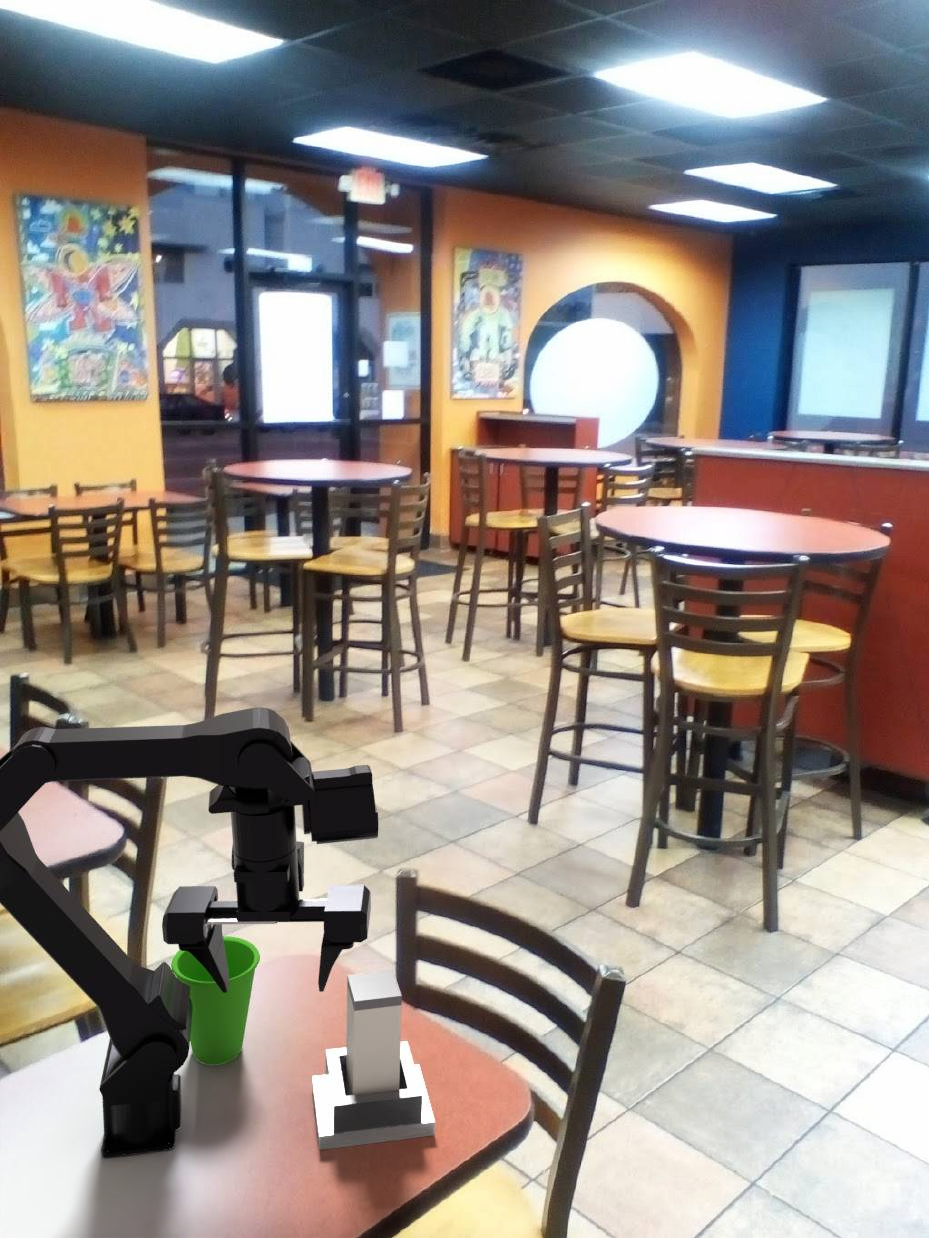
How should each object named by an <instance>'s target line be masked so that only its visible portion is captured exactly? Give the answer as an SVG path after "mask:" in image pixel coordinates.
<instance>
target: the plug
mask: <svg viewBox="0 0 929 1238" xmlns="http://www.w3.org/2000/svg"><path fill="white" fill-rule="evenodd" d="M346 977H347V978H346V979H347V980H346V984H347V985H346V1037H345V1038H346V1039H345V1040H346V1041H345V1043H346V1045H345V1046H346V1090H347V1094H348V1096H349V1095H357V1094H366V1093H375V1092H383V1091H392V1090H399V1078H400V1043H401V1042H402V1041H401V1037H402V1036H401V1035H402V1004H403V1003H402V1001H403V999H402V998H403V995H402V992H401V990H400V987H399V984H398V981H397V980H398V979H397V978H396V975H395V972H394V970H393V969H386V970H378V971H369V972H359V973H351V974H347V976H346Z"/></svg>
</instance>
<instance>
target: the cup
mask: <svg viewBox="0 0 929 1238" xmlns="http://www.w3.org/2000/svg"><path fill="white" fill-rule="evenodd" d="M223 941H224V947H225V953H226V958H227V964H228V970H229V989H228V992H227V993H223V992H222V991H221V989H220V988H219V986H218V985H217V984H216V982H215V981H214V980H213V978H212V977H211V976H210V974H209V973H208V972H207V970H206V969H205V968H204V967H203V966H202V965H201V963H200V962H199V961H198V960H197V959H196V958H195V957H194V956H193V955H192V954H191V953H190V952H188V951H181V950H180V949H179V950H177V952H176V953H175V954H174V956H173V957H172V960H171V963H170V968H171V969H172V971H173V973H174V974H175V976H176V977H177V978H178V979H179V980H180V981H181V982H182V983H185V984H187V985H189V986H190V999H191V1001H192V1005H193V1007H192V1008H193V1012H192V1023H191V1035H190V1047H191V1052H192V1055H193V1057H194V1058H195V1059H196V1061H198V1062H199V1063H201V1064H203V1065H208V1066H219V1065H223V1064H227V1063H229V1062H233V1060H234V1059H236V1058H237V1057H238V1056H239V1054H240V1052H241V1050H242V1049H243V1045H244V1039H245V1034H246V1033H245V1032H246V1026H247V1020H248V1014H249V1009H250V1001H251V998H252V997H251V996H252V989H253V986H254V985H253V983H254V977H255V970H256V968H257V967H258V965H259V963H260V960H261V959H260V958H261V955H260V952H259V949H258V948H257V947H256V946H255V945H254V944H253V943H251V941H248V940H247V939H243V938H240V937H235V936H227V935H226V936H225V935H224V936H223Z"/></svg>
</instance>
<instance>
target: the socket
mask: <svg viewBox="0 0 929 1238" xmlns="http://www.w3.org/2000/svg"><path fill="white" fill-rule="evenodd" d="M410 1048H411V1047H410V1044H409V1042H408V1040H402V1041H401V1043H400V1078H399V1090H392V1091H383V1092H375V1093H366V1094H357V1095H349V1096H348V1094H347V1090H346V1047H337V1048H327V1049H325V1074H322V1075H321V1074H320V1075H312V1096H313V1105H314V1113H315V1122H316V1131H317V1138H318V1146H319V1147H318V1149H319V1150H320V1151H322V1150H323V1151H324V1150H329V1149H330V1150H331V1149H336V1148H337V1149H338V1148H347V1147H355V1146H362V1145H368V1144H377V1143H386V1142H392V1141H393V1142H394V1141H401V1140H407V1139H410V1140H411V1139H417V1138H423V1137H424V1138H425V1137H432V1136H435V1133H436V1132H435V1130H436V1119H435V1117H434V1113H433V1110H432V1106H431V1103H430V1099H429V1095H428V1091H427V1088H426V1084H425V1081H424V1077H423V1074H422V1071H421V1066H420V1064H415V1062H414V1060H413V1055H412V1051H411V1049H410Z"/></svg>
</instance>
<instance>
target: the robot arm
mask: <svg viewBox="0 0 929 1238" xmlns="http://www.w3.org/2000/svg"><path fill="white" fill-rule="evenodd" d="M311 764H312V763H311V761H310V760H309V759H308V758H307V757H306V755H304V753H303V752H302V751H301V750H300V749H299V748H298V747H297V746H296V745H295V744H294V742H293V741H292V740H291V734H290V728H289V725H287V722H286V720H285V719H284V718H283V717H282V716H280V714H278V713H277V712H276V711H275V710H273V709H272V708H271V709H270V708H268V707H260V706H258V707H256V706H255V707H249V708H246V709H241V710H235V711H230V712H225V713H220V714H217V715H215V716H212V717H209V718H206V719H204V720H202V721H201V720H200V721H197V722H192V723H188V724H187V723H186V724H179V725H178V724H177V725H149V726H148V725H147V726H146V725H143V726H119V727H118V726H116V727H115V726H113V727H112V726H111V727H87V728H85V727H83V728H82V727H81V728H57V729H56V728H51V727H47V726H39V727H34V728H31V729H29V730H27V731H26V732H25V733H24V734H23V735H22V736H21V738H20V739H19V740H18V742H17V743H16V744H15V745H14V746H12V748H11V749H9V751H8V752H6V753H5V754H4V755H3V756H1V757H0V905H1V906H2V907H3V909H5V910H6V911H7V913H9V914H10V916H12V918H13V919H14V920H15V921H16V922H17V923H18V924H19V925H20V927H22V929H24V930H25V931H26V933H27V934H28V935H29V936H30V937H31V938H32V939H33V940H34V941H35V942H36V943H37V944H38V945H39V946H40V947H41V948H42V950H44V951H45V953H46V954H47V955H48V956H49V957H50V958H51V959H52V960H53V961H54V962H55V964H57V965H58V966H59V967H60V969H61V970H62V971H64V973H65V974H66V975H67V976H68V977H69V979H71V980H72V981H73V982H74V983H75V985H77V987H79V989H80V990H81V991H82V992H83V993H84V994H85V995H86V996H87V997H88V998H89V999H90V1000H91V1001H92V1002H93V1004H94V1005H96V1007H97V1009H98V1010H99V1012H100V1015H101V1017H102V1020H103V1022H104V1025H105V1029H106V1030H107V1034H108V1036H109V1040H108V1044H107V1050H106V1056H105V1060H104V1065H103V1069H102V1074H101V1078H100V1084H99V1092H100V1093H101V1097H102V1098H101V1100H102V1120H103V1122H102V1123H103V1137H102V1143H101V1149H100V1154H101V1155H100V1156H101V1157H102V1158H112V1157H121V1156H130V1155H136V1154H145V1153H153V1152H154V1153H155V1152H161V1151H169V1150H172V1149H173V1148H175V1143H176V1130H179V1129H180V1128H181V1125H182V1079H181V1075H180V1074H175V1073H176V1072H178V1070H179V1069H180V1068H181V1067H182V1066H184V1065H185V1062H186V1061H187V1059H188V1057H189V1053H190V1047H191V1043H190V1035H191V1023H192V1012H193V1008H192V1007H193V1005H192V1001H191V999H190V986H189V985H187V984H185V983H182V982H181V981H180V980H179V979H178V978H177V976H176V975H175V974H174V972H173V971H172V967H171V965H170V964H168V963H167V962H166V961H163V962H161V964H160V965H158V967H157V968H155V969H154V970H152V969H149V968H146V967H144V966H140V965H138V964H137V963H135V962H134V961H133V960H132V959H131V958H130V956H129V955H128V954H127V953H126V952H125V951H124V949H122V947H120V946H119V944H118V943H117V941H115V940H114V939H113V938H112V937H111V936H110V935H109V934H108V932H107V931H106V930H105V929H104V928H103V926H102V925H100V924H99V922H98V921H97V920H96V918H94V917H93V916H92V914H90V912H89V911H88V910H87V909H86V908H85V907H84V906H83V905H82V904H81V902H79V901H78V900H77V899H76V898H75V896H74V895H73V894H72V893H71V892H70V891H69V889H68V888H66V886H65V885H64V884H63V883H62V882H61V881H60V880H59V879H58V878H57V876H56V875H55V874H54V873H53V872H52V871H51V870H50V868H48V866H47V865H46V863H44V862H43V861H42V860H41V859H40V858H39V856H38V855H37V853H36V850H35V848H34V844H33V842H32V839H31V837H30V834H29V831H28V829H27V826H26V823H25V821H24V819H23V818H22V816H21V814H20V813H19V812H20V811H21V809H22V808H23V807H25V805H27V803H28V802H29V801H30V799H32V798H33V797H34V795H35V794H36V793H37V792H38V791H39V790H40V789H41V788H42V787H43V786H45V784H47V783H53V782H54V783H55V782H56V783H57V782H79V781H81V782H83V781H84V782H85V781H100V780H101V781H102V780H107V781H108V780H126V779H127V780H128V779H149V778H150V779H151V778H152V779H153V778H173V777H174V778H175V777H187V778H195V779H200V780H203V781H205V782H209V783H210V784H211V783H212V784H214V785H216V786H215V787H213V788H212V789H211V790H210V791H209V796H208V813H210V814H212V815H213V814H215V815H216V814H225V813H227V814H228V813H230V819H231V820H230V821H231V834H232V835H231V838H232V847H231V868H232V870H233V882H234V883H235V888H236V891H235V892H236V900H224V901H223V900H219V894H218V893H219V892H218V888H217V887H216V885H204V886H203V885H199V886H197V885H194V886H193V885H191V886H189V885H188V886H186V885H184V886H178V888H177V889H176V890H175V891H174V892H173V894H172V896H171V898H170V900H169V902H168V905H167V907H166V910H165V912H164V913H163V916H162V922H161V923H162V924H161V928H162V939H163V942H165V943H166V944H167V945H178V946H177V947H178V949H179V950H181V951H188V952H190V953H191V954H192V955H193V956H194V957H195V958H196V959H197V960H198V961H199V962H200V963H201V965H202V966H203V967H204V968H205V969H206V970H207V972H208V973H209V974H210V976H211V977H212V978H213V980H214V981H215V982H216V984H217V985H218V986H219V988H220V989H221V991H222V992H223V993H227V992H228V989H229V970H228V964H227V958H226V953H225V947H224V941H223V925H276V924H278V923H313V922H315V923H322V922H323V934H322V935H323V937H322V940H321V949H320V958H319V959H320V960H319V969H318V981H317V982H318V984H317V985H318V990H319V992H320V993H321V992H324V991H325V989H326V986H327V983H328V980H329V977H330V975H331V972H332V970H333V967H334V964H335V963H336V962H337V960H338V958H339V956H340V954H341V953H342V951H343V950H350V949H352V948H353V947H354V945H355V943H362V942H364V941H365V940H367V939H368V935H369V928H370V927H369V926H370V918H371V909H372V899H371V898H372V897H371V896H372V895H371V890H370V889H369V888H368V887H367V886H366V885H365V884H329V886H328V890H327V896H326V898H318V899H316V898H314V899H313V898H312V899H308V898H307V899H306V898H305V899H300V892H304V887H305V879H304V878H305V877H304V876H305V875H304V874H305V842H304V841H297V827H296V825H297V824H296V807H295V806H301V815H302V817H301V818H302V826H303V827H302V828H303V835H310V836H311V837H310V838H311V843H314V842H315V843H316V845H323V844H334V843H342V842H353V841H362V840H364V841H365V840H370V839H371V840H373V839H378V837H379V811H378V808H377V805H376V799H375V789H374V783H373V772H372V769H371V767H370V765H369V764H362V765H361V764H360V765H354V766H351V767H348V768H339V769H338V768H337V769H328V770H327V769H326V770H315V771H313V769H312V765H311ZM218 900H219V901H218Z"/></svg>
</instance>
